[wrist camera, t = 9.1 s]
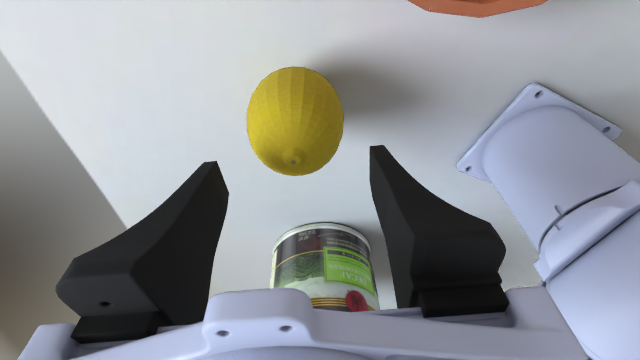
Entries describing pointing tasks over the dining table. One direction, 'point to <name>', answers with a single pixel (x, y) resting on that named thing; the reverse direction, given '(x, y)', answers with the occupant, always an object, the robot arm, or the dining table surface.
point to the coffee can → (326, 267)
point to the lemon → (295, 121)
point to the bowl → (475, 6)
